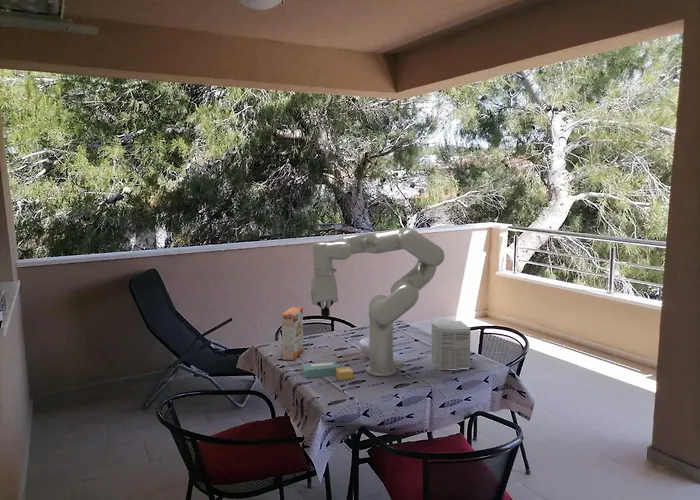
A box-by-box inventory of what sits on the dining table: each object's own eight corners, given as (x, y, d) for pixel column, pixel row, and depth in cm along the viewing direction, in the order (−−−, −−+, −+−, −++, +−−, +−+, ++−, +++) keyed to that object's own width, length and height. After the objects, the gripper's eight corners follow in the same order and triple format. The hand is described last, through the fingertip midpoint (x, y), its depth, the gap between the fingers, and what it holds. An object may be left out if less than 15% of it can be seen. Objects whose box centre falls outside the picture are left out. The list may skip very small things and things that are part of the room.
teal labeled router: (335, 368, 226) (334, 360, 225) (339, 374, 218) (339, 367, 218) (301, 371, 222) (301, 364, 222) (305, 378, 215) (304, 370, 214)
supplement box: (470, 370, 222) (471, 328, 219) (439, 371, 220) (439, 330, 218) (460, 359, 235) (460, 320, 233) (430, 361, 233) (431, 321, 231)
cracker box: (295, 361, 235) (293, 314, 232) (281, 360, 236) (280, 313, 234) (304, 351, 249) (303, 306, 246) (291, 350, 250) (290, 306, 247)
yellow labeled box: (350, 374, 218) (350, 366, 218) (353, 378, 214) (353, 371, 213) (335, 375, 217) (335, 368, 216) (338, 380, 212) (338, 372, 212)
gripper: (339, 269, 219) (341, 313, 221) (303, 272, 215) (305, 317, 217) (344, 272, 212) (346, 317, 214) (307, 275, 208) (309, 322, 210)
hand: (325, 317), depth 216 cm, fingers closed
